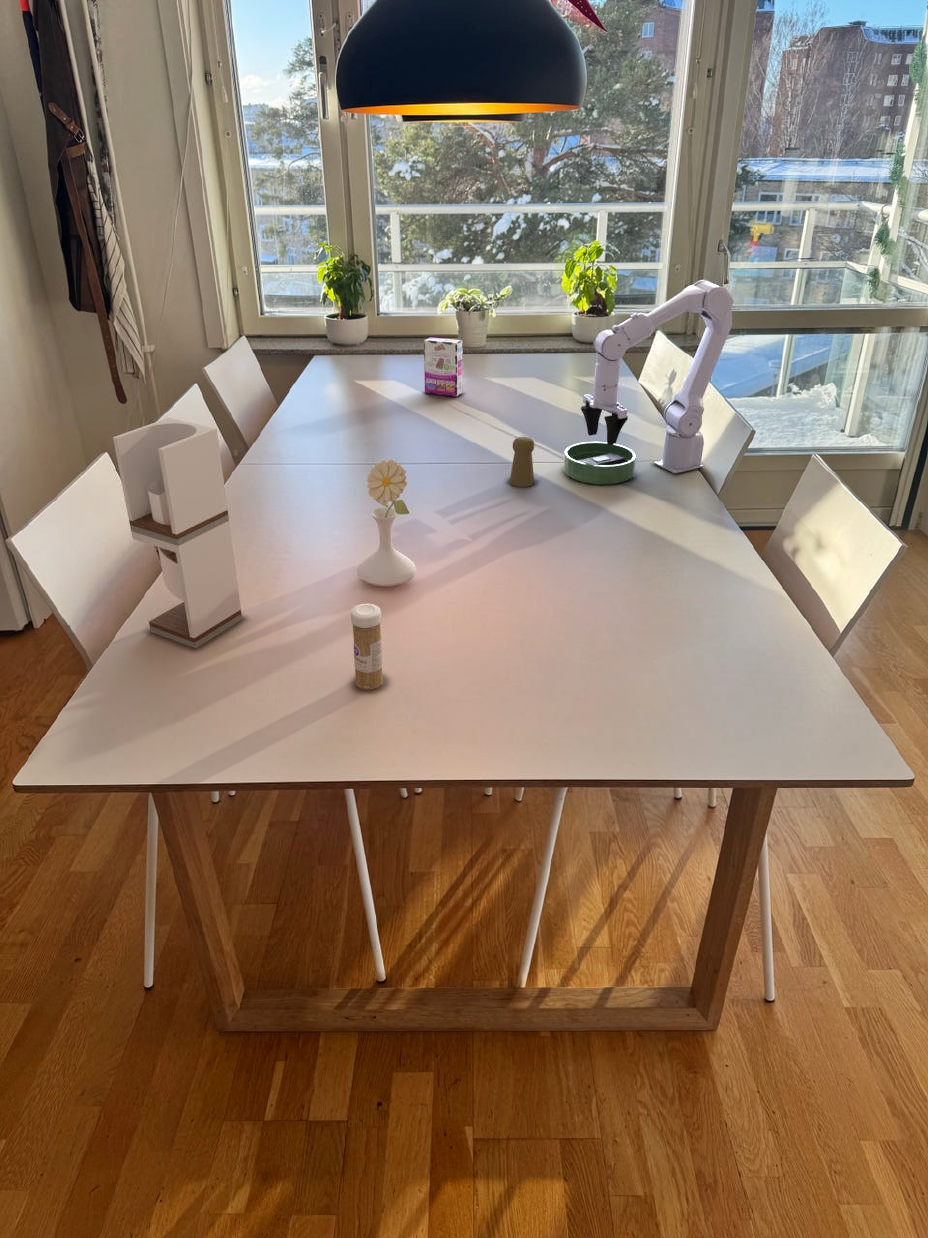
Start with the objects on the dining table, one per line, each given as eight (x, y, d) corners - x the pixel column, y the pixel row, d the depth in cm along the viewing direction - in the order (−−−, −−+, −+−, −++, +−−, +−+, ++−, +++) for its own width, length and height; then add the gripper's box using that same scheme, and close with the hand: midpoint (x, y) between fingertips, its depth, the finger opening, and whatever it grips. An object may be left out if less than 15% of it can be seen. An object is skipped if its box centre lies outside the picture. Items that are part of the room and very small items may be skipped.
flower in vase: (346, 575, 175) (338, 452, 162) (395, 559, 181) (391, 440, 168) (383, 601, 166) (377, 474, 153) (433, 584, 172) (431, 460, 159)
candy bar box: (463, 393, 281) (463, 339, 273) (456, 397, 277) (457, 343, 269) (430, 389, 285) (430, 336, 276) (423, 393, 281) (423, 339, 272)
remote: (612, 463, 227) (614, 451, 225) (623, 469, 224) (625, 456, 222) (572, 472, 222) (573, 459, 220) (583, 478, 218) (584, 465, 217)
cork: (532, 487, 214) (534, 443, 209) (507, 485, 215) (509, 441, 210) (536, 478, 219) (538, 435, 214) (511, 476, 220) (513, 433, 215)
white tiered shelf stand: (198, 604, 165) (168, 417, 147) (242, 619, 160) (216, 428, 142) (150, 631, 156) (112, 437, 138) (195, 648, 151) (162, 449, 134)
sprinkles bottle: (349, 683, 143) (344, 610, 136) (369, 671, 146) (365, 599, 139) (369, 694, 140) (365, 620, 134) (389, 682, 143) (386, 608, 137)
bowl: (604, 456, 233) (606, 437, 231) (648, 478, 220) (650, 458, 218) (549, 467, 226) (550, 448, 223) (591, 490, 213) (593, 471, 210)
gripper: (574, 378, 216) (570, 433, 223) (612, 393, 205) (607, 450, 212) (598, 374, 219) (593, 428, 226) (636, 389, 208) (630, 445, 215)
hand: (601, 439), depth 219 cm, fingers open, 7 cm apart
